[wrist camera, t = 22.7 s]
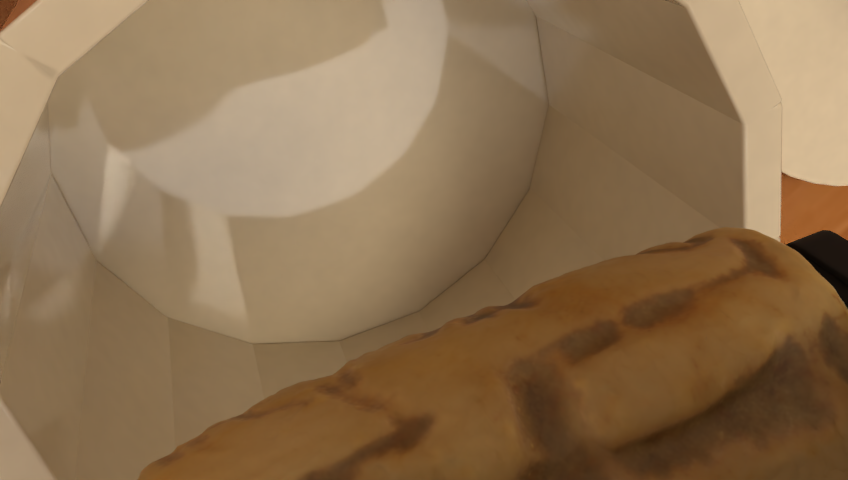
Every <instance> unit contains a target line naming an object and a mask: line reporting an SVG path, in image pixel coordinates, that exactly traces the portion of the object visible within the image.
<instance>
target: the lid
mask: <svg viewBox="0 0 848 480" xmlns="http://www.w3.org/2000/svg"><path fill="white" fill-rule="evenodd" d="M739 2H740V4H741V7H742V9H743V11H744V14H745V16H746V18H747V20H748V23H749V25H750V27H751V30H752V32H753V34H754V36H755V39H756V41H757V43H758V46H759V48H760V50H761V52H762V55H763V57H764V59H765V62H766V64H767V66H768V68H769V71H770V73H771V75H772V78H773V80H774V82H775V84H776V87H777V89H778V91H779V94H780V96H781V98H782V101H781V103H782V173H784V174H786V175H788V176H790V177H793V178H796V179H800V180H803V181H806V182H810V183H814V184H822V185H831V186H848V0H739Z"/></svg>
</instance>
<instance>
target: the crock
mask: <svg viewBox="0 0 848 480" xmlns="http://www.w3.org/2000/svg"><path fill="white" fill-rule="evenodd" d="M781 101H782V98H781V96H780V94H779V91H778V89H777V87H776V84H775V82H774V80H773V78H772V75H771V73H770V71H769V68H768V66H767V64H766V62H765V59H764V57H763V55H762V52H761V50H760V48H759V46H758V43H757V41H756V39H755V36H754V34H753V32H752V30H751V27H750V25H749V23H748V20H747V18H746V16H745V14H744V11H743V9H742V7H741V4H740V2H739V0H19V1H18V2H17V4H16V6H15V7H14V9H13V10H12V12H11V13H10V15H9V17H8V18H7V20H6V21H5V23H4V25H3V26H2V28H1V29H0V480H138V478H139V475H140V473H141V471H142V470H143V469H144V468H145V467H147V466H148V465H149V464H150V463H152V462H154V461H156V460H159V459H161V458H163V457H165V456H167V455H169V454H171V453H172V452H174V450H175V449H176V447H177V446H179V445H181V444H184V443H186V442H188V441H189V440H191V439H193V438H195V437H197V436H199V435H200V434H202V433H203V432H204V431H205V430H206V429H207V428H208V427H210V426H212V425H214V424H215V423H218V422H220V421H223V420H227V419H230V418H232V417H236V416H238V415H241V414H243V413H244V412H246V411H247V410H248V409H249V408H251V407H252V406H253V405H255V404H257V403H258V402H260V401H262V400H264V399H265V398H267V397H269V396H270V395H274V394H276V393H277V392H278V391H279V390H281V389H283V388H286V387H289V386H292V385H294V384H296V383H299V382H302V381H308V380H314V379H318V378H322V377H326V376H330V375H333V374H334V373H336V372H337V371H338V370H340V369H341V368H342V367H343V366H344V365H345V364H346V363H347V362H348V361H350V360H354V359H357V358H358V357H360V356H362V355H363V354H365V353H367V352H371V351H376V350H378V349H379V348H381V347H383V346H385V345H387V344H390V343H392V342H395V341H397V340H400V339H401V338H403V337H405V336H408V335H412V334H418V333H426V332H430V331H433V330H436V329H438V328H440V327H442V326H443V325H444V324H445V323H446V322H448V321H450V320H453V319H456V318H461V317H466V316H469V315H473V314H475V313H476V312H477V311H479V310H480V309H482V308H484V307H487V306H505V305H508V304H510V303H512V302H513V301H514V300H516V299H517V298H518V297H519V296H521V295H522V294H523V293H525V292H526V291H527V290H528V289H530V288H531V287H532V286H534V285H537V284H539V283H542V282H545V281H547V280H550V279H553V278H556V277H559V276H561V275H563V274H565V273H568V272H571V271H574V270H578V269H581V268H583V267H586V266H590V265H593V264H597V263H599V262H601V261H604V260H609V259H612V258H616V257H621V256H629V255H636V254H637V253H639V252H641V251H643V250H645V249H648V248H650V247H654V246H657V245H662V244H665V243H670V242H682V243H683V242H685V241H686V240H688V239H690V238H692V237H693V236H695V235H697V234H700V233H703V232H706V231H709V230H713V229H718V228H722V227H730V228H745V229H751V230H755V231H758V232H760V233H762V234H764V235H766V236H769V237H771V238H773V239H775V240H777V241H779V242H780V241H781V239H780V238H779V237H780V235H781V176H782V103H781Z"/></svg>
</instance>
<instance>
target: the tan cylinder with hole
mask: <svg viewBox="0 0 848 480" xmlns="http://www.w3.org/2000/svg"><path fill="white" fill-rule="evenodd" d="M138 480H848V309H847V307H846V305H845V304H844V302H843V301H842V299H841V298H840V297H839V295H838V293H837V292H836V290H835V288H834V287H833V286H832V285H831V284H830V283H829V282H828V281H827V280H826V279H825V278H824V277H822V276H821V275H820V274H819V273H818V272H817V271H816V270H815V269H814V267H813V266H812V265H811V264H810V263H809V262H808V261H807V260H806V259H805V258H804V257H803V256H802V255H801V254H800V253H799V252H797V251H796V250H794V249H792V248H790V247H789V246H787V245H785V244H783V243H781V242H779V241H777V240H775V239H773V238H771V237H769V236H766V235H764V234H762V233H760V232H758V231H755V230H751V229H745V228H730V227H722V228H718V229H713V230H709V231H706V232H703V233H700V234H697V235H695V236H693V237H692V238H690V239H688V240H686V241H685V242H683V243H682V242H670V243H665V244H662V245H657V246H654V247H650V248H648V249H645V250H643V251H641V252H639V253H637V254H636V255H629V256H621V257H616V258H612V259H609V260H604V261H601V262H599V263H597V264H593V265H590V266H586V267H583V268H581V269H578V270H574V271H571V272H568V273H565V274H563V275H561V276H559V277H556V278H553V279H550V280H547V281H545V282H542V283H539V284H537V285H534V286H532V287H531V288H530V289H528V290H527V291H526V292H525V293H523V294H522V295H521V296H519V297H518V298H517V299H516V300H514V301H513V302H512V303H510V304H508V305H505V306H487V307H484V308H482V309H480V310H479V311H477V312H476V313H475V314H473V315H469V316H466V317H461V318H456V319H453V320H450V321H448V322H446V323H445V324H444V325H443V326H442V327H440V328H438V329H436V330H433V331H430V332H426V333H418V334H412V335H408V336H405V337H403V338H401V339H400V340H397V341H395V342H392V343H390V344H387V345H385V346H383V347H381V348H379V349H378V350H376V351H371V352H367V353H365V354H363V355H362V356H360V357H358V358H357V359H354V360H350V361H348V362H347V363H346V364H345V365H344V366H343V367H342V368H341V369H340V370H338V371H337V372H336V373H334V374H333V375H330V376H326V377H322V378H318V379H314V380H308V381H302V382H299V383H296V384H294V385H292V386H289V387H286V388H283V389H281V390H279V391H278V392H277V393H276V394H274V395H270V396H269V397H267V398H265V399H264V400H262V401H260V402H258V403H257V404H255V405H253V406H252V407H251V408H249V409H248V410H247V411H246V412H244V413H243V414H241V415H238V416H236V417H232V418H230V419H227V420H223V421H220V422H218V423H215V424H214V425H212V426H210V427H208V428H207V429H206V430H205V431H204V432H203V433H202V434H200V435H199V436H197V437H195V438H193V439H191V440H189V441H188V442H186V443H184V444H181V445H179V446H177V447H176V449H175V450H174V452H172V453H171V454H169V455H167V456H165V457H163V458H161V459H159V460H156V461H154V462H152V463H150V464H149V465H148V466H147V467H145V468H144V469H143V470H142V471H141V473H140V475H139V478H138Z"/></svg>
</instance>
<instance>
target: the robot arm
mask: <svg viewBox="0 0 848 480" xmlns="http://www.w3.org/2000/svg"><path fill="white" fill-rule="evenodd" d="M787 246H789V247H790V248H792V249H794V250H796V251H797V252H799V253H800V254H801V255H802V256H803V257H804V258H805V259H806V260H807V261H808V262H809V263H810V264H811V265H812V266H813V267H814V269H815V270H816V271H817V272H818V273H819V274H820V275H821V276H822V277H824V278H825V279H826V280H827V281H828V282H829V283H830V284H831V285H832V286H833V287H834V288H835V290H836V292H837V293H838V295H839V297H840V298H841V299H842V301H843V302H844V304H845V305H846V307H847V309H848V241H847V240H846V239H844V238H842V237H841V236H839V235H837V234H836V233H833V232H831V231H827V230H822V231H820V232H817V233H814V234H812V235H809V236H807V237H804V238H801V239H799V240H796V241H794V242H791V243H788V244H787Z"/></svg>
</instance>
